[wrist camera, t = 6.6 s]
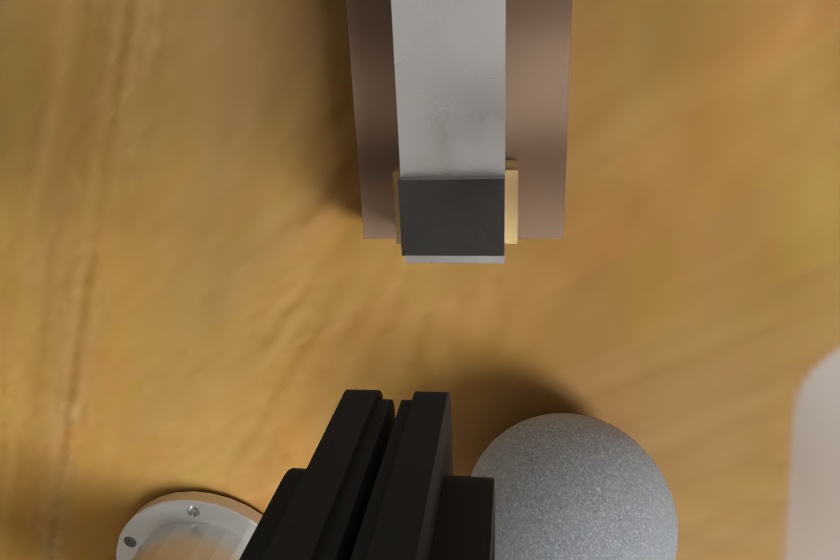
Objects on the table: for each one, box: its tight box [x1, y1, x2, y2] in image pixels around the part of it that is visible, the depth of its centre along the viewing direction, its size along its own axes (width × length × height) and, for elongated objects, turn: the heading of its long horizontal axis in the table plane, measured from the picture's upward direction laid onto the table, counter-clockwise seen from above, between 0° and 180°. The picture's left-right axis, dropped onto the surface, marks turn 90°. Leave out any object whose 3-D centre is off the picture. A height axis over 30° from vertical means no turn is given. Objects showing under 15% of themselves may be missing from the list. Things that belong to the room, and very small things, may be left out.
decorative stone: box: [471, 413, 678, 560], centre depth 31 cm, size 10×10×10 cm
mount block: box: [346, 0, 572, 244], centre depth 26 cm, size 19×9×5 cm, turn 2°
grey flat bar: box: [391, 0, 506, 263], centre depth 23 cm, size 17×5×2 cm, turn 2°
